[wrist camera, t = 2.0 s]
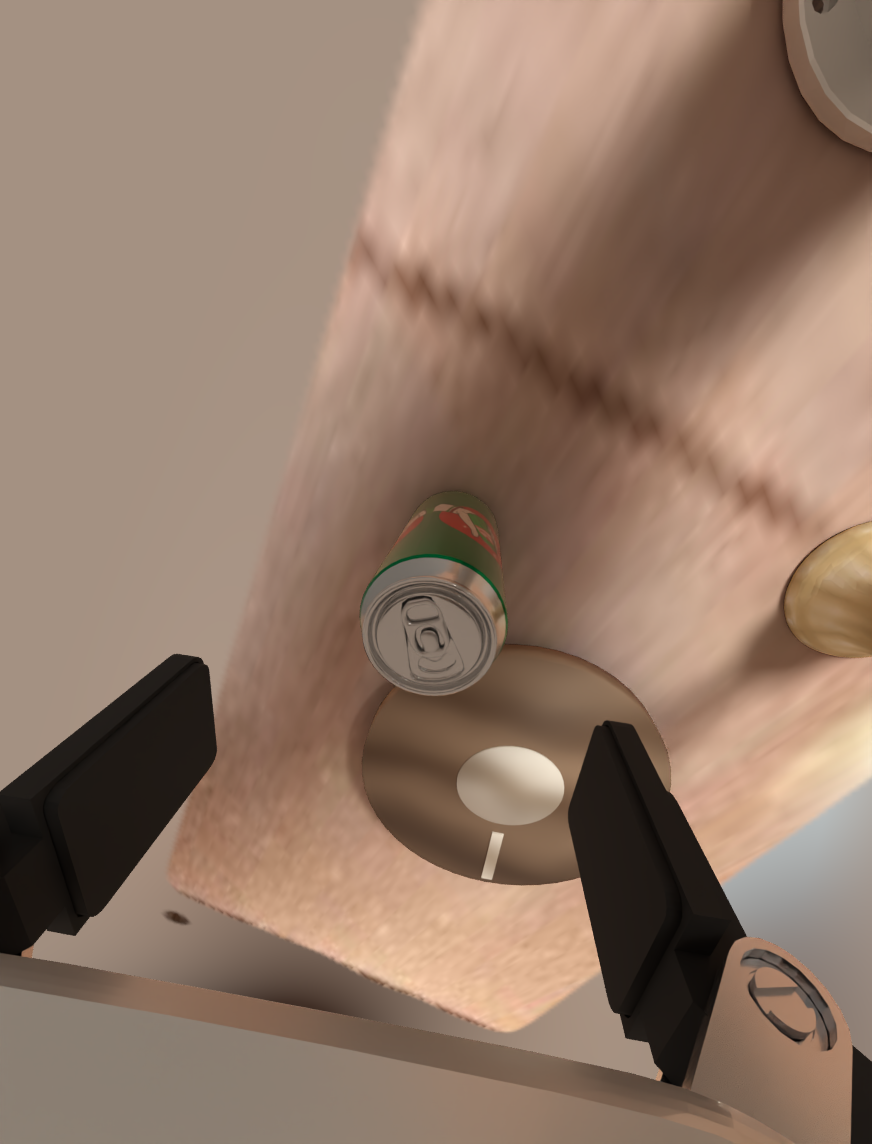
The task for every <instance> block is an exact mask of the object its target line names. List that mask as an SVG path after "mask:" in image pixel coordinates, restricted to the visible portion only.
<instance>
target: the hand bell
mask: <svg viewBox="0 0 872 1144" xmlns="http://www.w3.org/2000/svg"><path fill="white" fill-rule="evenodd" d="M784 612H785V619H786V621H787V624H788V626H789V628H790V630H791V631H792V633H793V634H794V635H795V637H796V638H797V639H798V640H799V641H800V642H802V643H803V644H805V645H806V646H808V647H809V648H811V649H813V650H816V651H818V652H821V653H824V654H829V655H833V656H838V657H848V658H863V657H872V521H871V522H867V523H863V524H860V525H857V526H855V527H852V528H850V529H847V530H845V531H843V532H841V533H839V534H837V535H836V536H834V537H832V538H830V539H829V540H827V541H826V542H824V543H823V544H822V545H820V546H819V547H818V548H817V549H815V550H814V551H813V552H812V553H811V554H810V555H809V556H808V557H807V558H806V559H805V560H804V561H803V562H802V564H801V565H800V566H799V567H798V569H797V570H796V572H795V573H794V575H793V577H792V579H791V581H790V583H789V585H788V588H787V591H786V594H785V600H784Z"/></svg>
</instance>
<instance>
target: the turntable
mask: <svg viewBox="0 0 872 1144" xmlns="http://www.w3.org/2000/svg"><path fill="white" fill-rule="evenodd" d="M606 720H609V721H616V722H622V723H629V724H632V725H633V726H634V728H635V729H636V731H637V733H638V735H639V737H640V739H641V741H642V743H643V745H644V747H645V749H646V751H647V753H648V755H649V757H650V759H651V761H652V763H653V765H654V767H655V769H656V771H657V773H658V775H659V777H660V779H661V781H662V783H663V785H664V787H665V789H666V791H668V792H670V787H671V767H670V762H669V757H668V753H667V750H666V747H665V745H664V743H663V740H662V738H661V735H660V734H659V732H658V730H657V728H656V726H655V724H654V722H653V720H652V719H651V717H650V715H649V714H648V712H647V711H646V709H645V707H644V706H643V704H642V703H641V702H640V701H639V700H638V698H637V697H636V696H635V695H634V694H633V693H632V692H631V690H629V689H628V688H627V687H626V686H625V685H624V684H622V683H621V682H620V681H619V680H618V679H617V678H615V677H614V676H612V675H611V674H609V673H608V672H606V671H604V670H603V669H601V668H600V667H598V666H596V665H594V664H592V663H590V662H587V661H585V660H583V659H581V658H579V657H576V656H573V655H570V654H567V653H564V652H561V651H557V650H552V649H548V648H543V647H538V646H528V645H518V644H505V645H504V646H503V648H502V650H501V652H500V654H499V655H498V657H497V658H496V660H495V661H494V662H493V663H492V664H491V666H490V668H489V669H488V671H487V672H486V674H485V675H484V676H483V677H482V678H481V679H480V680H479V681H477V682H476V683H475V684H473V685H472V686H470V687H469V688H467V689H465V690H463V691H460V692H457V693H454V694H450V695H445V696H424V695H419V694H414V693H411V692H408V691H405V690H403V689H401V688H399V687H397V686H395V687H394V688H393V689H392V690H391V691H390V693H389V694H388V695H387V697H386V698H385V699H384V700H383V702H382V703H381V705H380V707H379V709H378V711H377V712H376V714H375V716H374V719H373V722H372V725H371V727H370V730H369V733H368V736H367V739H366V742H365V745H364V750H363V757H362V776H363V782H364V787H365V791H366V793H367V796H368V799H369V801H370V804H371V806H372V807H373V809H374V811H375V813H376V815H377V816H378V818H379V819H380V820H381V822H382V823H383V824H384V826H385V827H386V828H387V829H388V830H389V831H390V833H391V834H392V835H393V836H394V837H395V838H396V839H397V840H398V841H400V842H401V843H402V844H403V845H404V846H406V847H407V848H408V849H409V850H411V851H412V852H414V853H415V854H417V855H418V856H420V857H421V858H423V859H425V860H427V861H428V862H430V863H432V864H434V865H436V866H438V867H440V868H443V869H445V870H447V871H450V872H452V873H455V874H458V875H461V876H464V877H468V878H471V879H476V880H480V881H484V882H491V883H498V884H507V885H542V884H551V883H558V882H563V881H568V880H573V879H576V878H580V873H579V868H578V864H577V860H576V855H575V851H574V846H573V842H572V837H571V833H570V828H569V823H568V809H569V805H570V802H571V798H572V795H573V792H574V789H575V786H576V783H577V780H578V777H579V774H580V771H581V767H582V764H583V761H584V758H585V755H586V752H587V749H588V746H589V743H590V740H591V736H592V733H593V730H594V728H595V726H596V725H600V726H602V724H603V722H604V721H606Z"/></svg>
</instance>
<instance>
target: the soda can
mask: <svg viewBox="0 0 872 1144" xmlns="http://www.w3.org/2000/svg"><path fill="white" fill-rule="evenodd" d="M360 627H361V630H362V637H363V644H364V648H365V651H366V654H367V656H368V658H369V660H370V662H371V663H372V665H373V666H374V668H375V669H376V670H377V671H378V672H379V673H380V674H381V675H382V676H383V677H384V678H385V679H386V680H387V681H389V682H390V683H392V684H393V685H395V686H397V687H399V688H401V689H403V690H405V691H408V692H411V693H414V694H419V695H424V696H445V695H450V694H454V693H457V692H460V691H463V690H465V689H467V688H469V687H470V686H472V685H473V684H475V683H476V682H477V681H479V680H480V679H481V678H482V677H483V676H484V675H485V674H486V672H487V671H488V669H489V668H490V666H491V664H492V663H493V662H494V661H495V660H496V658H497V657H498V655H499V654H500V652H501V650H502V648H503V646H504V643H505V640H506V636H507V630H508V618H507V608H506V599H505V590H504V581H503V572H502V563H501V554H500V545H499V536H498V527H497V523H496V520H495V518H494V516H493V514H492V512H491V511H490V509H489V508H488V507H487V506H486V505H485V504H484V503H483V502H482V501H481V500H479V499H478V498H476V497H475V496H473V495H470V494H467V493H464V492H459V491H447V492H441V493H438V494H435V495H433V496H431V497H429V498H428V499H427V500H425V501H424V502H423V503H422V504H421V505H420V506H419V507H418V508H417V510H416V511H415V513H414V514H413V516H412V517H411V519H410V520H409V522H408V524H407V525H406V527H405V528H404V530H403V531H402V533H401V535H400V536H399V538H398V539H397V541H396V542H395V544H394V546H393V547H392V549H391V550H390V552H389V553H388V555H387V557H386V558H385V560H384V561H383V563H382V564H381V566H380V568H379V569H378V571H377V572H376V574H375V575H374V577H373V579H372V580H371V582H370V583H369V585H368V586H367V589H366V591H365V593H364V595H363V598H362V602H361V605H360Z"/></svg>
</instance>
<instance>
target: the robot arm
mask: <svg viewBox="0 0 872 1144" xmlns="http://www.w3.org/2000/svg"><path fill="white" fill-rule="evenodd" d="M783 27H784V34H785V40H786V47H787V53H788V59H789V63H790V66H791V68H792V71H793V74H794V76H795V79H796V82H797V84H798V87H799V90H800V92H801V95H802V96H803V97H804V99H805V100H806V102H807V103H808V105H809V106H810V108H811V109H812V111H813V112H814V114H815V115H816V117H817V118H818V119H819V121H820V122H822V123H823V124H824V125H825V126H826V127H827V128H829V129H830V130H831V131H832V132H833V133H835V134H836V135H837V136H838V137H839V138H841V139H842V140H843V141H846V142H848V143H850V144H853V145H855V146H857V147H859V148H862V149H864V150H866V151H868V152H872V0H783ZM216 753H217V745H216V735H215V725H214V714H213V704H212V694H211V684H210V674H209V668H208V666H207V665H205V664H204V663H203V660H202V659H201V658H199V657H194V656H188V655H181V654H174V655H172V656H170V657H169V658H168V659H166V660H165V661H164V662H163V663H161V664H160V665H159V666H157V667H156V668H155V669H154V670H152V671H151V672H150V673H149V674H147V675H146V676H145V677H144V678H142V679H141V680H140V681H139V682H137V683H136V684H135V685H134V686H132V687H131V688H130V689H128V690H127V691H126V692H125V693H123V694H122V695H121V696H120V697H119V698H117V699H116V700H115V701H114V702H112V703H111V704H110V705H108V706H107V707H106V708H105V709H104V710H102V711H101V712H100V713H98V714H97V715H96V716H94V717H93V718H92V719H91V720H89V721H88V722H87V723H86V724H84V725H83V726H82V727H81V728H79V729H78V730H77V731H76V732H74V733H73V734H72V735H71V736H69V737H68V738H67V739H66V740H64V741H63V742H62V743H60V744H59V745H58V746H57V747H56V748H54V749H53V750H52V751H50V752H49V753H48V754H47V755H45V756H44V757H43V758H42V759H40V760H39V761H38V762H37V763H35V764H34V765H33V766H32V767H30V768H29V769H28V770H27V771H25V772H24V773H23V774H21V775H20V776H19V777H18V778H17V779H15V780H14V781H13V782H11V783H10V784H9V785H8V786H6V787H5V788H4V789H3V790H1V791H0V1144H872V1062H871V1061H870V1060H869V1059H868V1058H867V1057H866V1056H864V1055H863V1054H862V1053H861V1052H860V1051H859V1050H857V1049H856V1048H855V1047H854V1046H853V1045H852V1042H851V1036H850V1030H849V1028H848V1026H847V1023H846V1021H845V1019H844V1017H843V1014H842V1012H841V1010H840V1008H839V1007H838V1005H837V1004H836V1002H835V1001H834V999H833V998H832V996H831V995H830V993H829V992H828V990H827V989H826V988H825V987H824V986H823V984H822V983H821V982H820V981H819V980H818V979H817V978H816V977H815V975H814V974H813V973H812V972H811V971H810V970H809V969H808V968H807V967H805V966H804V965H803V964H802V963H801V962H800V961H798V960H797V959H796V958H795V957H794V956H793V955H791V954H790V953H788V952H786V951H785V950H783V949H782V948H780V947H778V946H777V945H775V944H772V943H770V942H767V941H765V940H763V939H760V938H752V937H747V936H746V934H745V932H744V930H743V928H742V926H741V924H740V922H739V920H738V918H737V916H736V914H735V913H734V911H733V909H732V907H731V905H730V903H729V901H728V899H727V897H726V895H725V893H724V891H723V889H722V887H721V885H720V884H719V882H718V880H717V878H716V876H715V874H714V872H713V870H712V868H711V866H710V864H709V862H708V860H707V858H706V856H705V855H704V853H703V851H702V849H701V847H700V845H699V843H698V841H697V839H696V837H695V835H694V833H693V831H692V829H691V827H690V826H689V824H688V822H687V820H686V818H685V816H684V814H683V812H682V810H681V808H680V806H679V804H678V802H677V801H676V799H675V798H674V796H673V795H672V794H671V793H670V792H668V791H666V789H665V787H664V785H663V783H662V781H661V779H660V777H659V775H658V773H657V771H656V769H655V767H654V765H653V763H652V761H651V759H650V757H649V755H648V753H647V751H646V749H645V747H644V745H643V743H642V741H641V739H640V737H639V735H638V733H637V731H636V729H635V728H634V726H633V725H632V724H629V723H622V722H616V721H609V720H606V721H604V722H603V724H602V726H600V725H596V726H595V728H594V730H593V733H592V736H591V740H590V743H589V746H588V749H587V752H586V755H585V758H584V761H583V764H582V767H581V771H580V774H579V777H578V780H577V783H576V786H575V789H574V792H573V795H572V798H571V802H570V805H569V809H568V823H569V828H570V833H571V837H572V842H573V846H574V851H575V855H576V860H577V864H578V868H579V873H580V877H581V882H582V886H583V891H584V895H585V900H586V904H587V908H588V913H589V917H590V922H591V926H592V931H593V935H594V940H595V944H596V948H597V953H598V957H599V962H600V966H601V971H602V975H603V979H604V984H605V988H606V993H607V997H608V1001H609V1004H610V1007H611V1009H612V1011H613V1012H614V1013H618V1014H620V1016H621V1020H622V1025H623V1029H624V1033H625V1038H627V1039H632V1040H638V1041H643V1042H648V1043H649V1045H650V1048H651V1052H652V1055H653V1059H654V1063H655V1064H656V1065H657V1067H658V1068H659V1071H658V1074H657V1077H656V1080H653V1079H650V1078H646V1077H643V1076H639V1075H636V1074H632V1073H628V1072H622V1071H618V1070H613V1069H609V1068H604V1067H600V1066H595V1065H591V1064H586V1063H582V1062H577V1061H573V1060H568V1059H564V1058H559V1057H554V1056H549V1055H545V1054H540V1053H536V1052H531V1051H526V1050H521V1049H515V1048H511V1047H506V1046H501V1045H496V1044H490V1043H485V1042H480V1041H475V1040H470V1039H465V1038H460V1037H454V1036H449V1035H444V1034H439V1033H434V1032H429V1031H424V1030H419V1029H414V1028H409V1027H403V1026H398V1025H393V1024H387V1023H383V1022H378V1021H372V1020H367V1019H362V1018H357V1017H351V1016H346V1015H341V1014H336V1013H330V1012H325V1011H320V1010H314V1009H309V1008H304V1007H298V1006H293V1005H288V1004H282V1003H277V1002H272V1001H267V1000H261V999H256V998H251V997H246V996H240V995H235V994H229V993H224V992H219V991H214V990H208V989H202V988H197V987H192V986H186V985H180V984H175V983H170V982H165V981H159V980H154V979H148V978H142V977H137V976H131V975H126V974H120V973H114V972H110V971H104V970H99V969H93V968H88V967H81V966H77V965H71V964H65V963H60V962H53V961H47V960H40V959H35V958H32V953H33V946H34V943H35V942H36V941H37V940H38V939H39V937H40V936H41V935H42V934H43V933H44V931H45V930H46V929H47V931H51V932H57V933H62V934H67V935H73V936H76V934H77V933H78V932H79V930H80V929H81V928H82V926H83V925H84V924H85V923H86V921H87V920H88V919H89V917H94V916H96V915H97V914H99V913H100V912H101V911H102V910H103V909H104V907H105V906H106V905H107V904H108V902H109V901H110V900H111V898H112V897H113V896H114V894H115V893H116V892H117V890H118V889H119V888H120V886H121V885H122V884H123V882H124V881H125V880H126V878H127V877H128V876H129V874H130V873H131V872H132V870H133V869H134V868H135V866H136V865H137V864H138V862H139V861H140V860H141V858H142V857H143V856H144V854H145V853H146V852H147V850H148V849H149V848H150V846H151V845H152V844H153V842H154V841H155V840H156V839H157V837H158V836H159V834H160V833H161V832H162V831H163V829H164V828H165V827H166V825H167V824H168V823H169V821H170V820H171V819H172V817H173V816H174V815H175V813H176V812H177V811H178V809H179V808H180V807H181V805H182V804H183V803H184V801H185V800H186V799H187V797H188V796H189V795H190V793H191V792H192V791H193V789H194V788H195V787H196V785H197V784H198V783H199V781H200V780H201V779H202V777H203V776H204V775H205V773H206V772H207V771H208V769H209V768H210V767H211V765H212V764H213V762H214V760H215V757H216Z"/></svg>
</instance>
